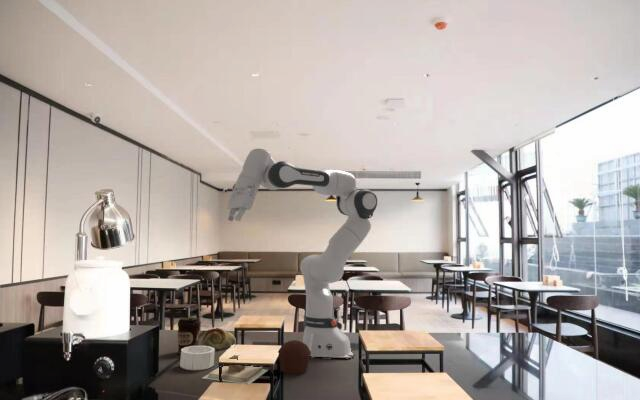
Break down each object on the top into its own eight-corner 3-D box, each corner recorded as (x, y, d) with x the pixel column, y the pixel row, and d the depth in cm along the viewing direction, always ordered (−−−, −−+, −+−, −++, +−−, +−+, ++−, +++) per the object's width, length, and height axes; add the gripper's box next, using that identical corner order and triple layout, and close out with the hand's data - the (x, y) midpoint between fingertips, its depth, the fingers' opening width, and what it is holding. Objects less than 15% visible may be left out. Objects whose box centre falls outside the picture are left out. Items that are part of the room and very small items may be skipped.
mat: (268, 371, 144) (268, 369, 144) (249, 386, 129) (249, 384, 129) (225, 366, 148) (225, 364, 148) (201, 379, 133) (201, 378, 133)
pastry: (200, 351, 167) (201, 330, 168) (201, 343, 179) (202, 324, 180) (236, 350, 170) (238, 330, 171) (235, 343, 183) (236, 324, 183)
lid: (262, 370, 143) (263, 354, 144) (246, 382, 131) (247, 364, 131) (227, 366, 146) (228, 350, 147) (208, 377, 134) (209, 360, 134)
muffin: (301, 379, 138) (303, 347, 139) (271, 374, 141) (272, 343, 143) (314, 369, 149) (316, 340, 150) (286, 365, 153) (287, 336, 154)
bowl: (219, 365, 149) (220, 347, 150) (203, 374, 139) (204, 355, 139) (190, 361, 152) (192, 344, 152) (173, 370, 141) (174, 351, 142)
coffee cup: (191, 356, 158) (193, 320, 159) (170, 354, 159) (173, 319, 161) (202, 351, 166) (204, 317, 168) (182, 349, 168) (185, 315, 169)
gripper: (263, 188, 156) (249, 223, 153) (245, 192, 174) (233, 223, 171) (248, 181, 154) (234, 216, 150) (231, 186, 172) (218, 217, 168)
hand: (233, 220), depth 161 cm, fingers open, 8 cm apart
